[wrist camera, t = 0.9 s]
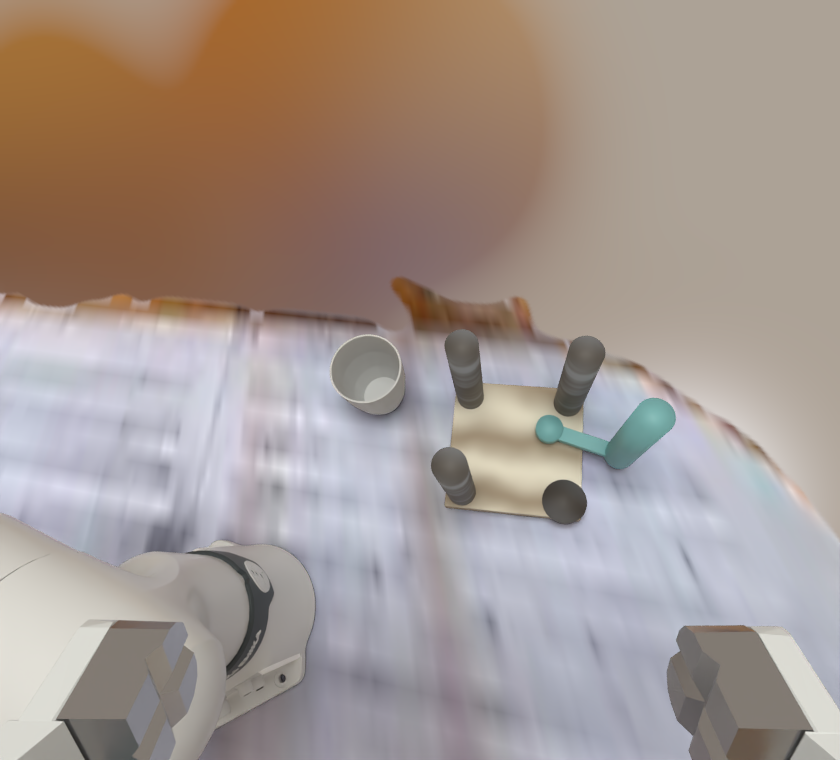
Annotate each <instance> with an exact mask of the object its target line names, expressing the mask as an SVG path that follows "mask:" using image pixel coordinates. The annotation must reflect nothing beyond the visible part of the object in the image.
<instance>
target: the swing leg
mask: <svg viewBox="0 0 840 760" xmlns="http://www.w3.org/2000/svg"><path fill="white" fill-rule="evenodd" d="M675 420H676V416H675V412H674V410H673V408H672V406H671V405H670V404H669V403H667V402H666V401H664V400H662V399H659V398H649V399H646V400H644V401H643V402H641V403H640V404H639V406H638V407H637V408H636V409H635V411H634V412H633V413H632V414H631V416H630V417H629V418H628V419H627V421H626V422H625V423H624V424H623V426H622V427H621V428H620V429H619V431H618V432H617V433H616V434H615V436H614V437H613V438H612V439H611V441H610V442H608V441H605V440H602V439H599V438H596V437H593V436H590V435H587V434H584V433H581V432H578V431H575V430H572V429H569V428H566V427H563V424H562V422H561V420H560V419H559V418H558V417H556V416H554V415H545V416H542V417H541V418H540V419H539V420H538V421H537V424H536V428H535V433H536V436H537V438H538V439H539V440H540V441H541V442H543V443H546V444H552V443H555V442H557V441H559V442H562V443H565V444H568V445H570V446H573V447H576V448H579V449H582V450H585V451H588V452H591V453H594V454H597V455H600V456H603V457H604V458H605V460H606V462H607V463H608V464H609V465H610V466H611V467H613V468H616V469H624V468H627V467H628V466H630V465H631V464H632V463H633V462H634V461H635V460H636V459H638V458H639V457H640V456H641V455H642V454H643V453H644V452H646V451H647V450H648V449H649V448H650V447H651V446H652V445H654V444H655V443H656V442H657V441H658V440H659V439H661V438H662V437H663V436H664V435H665V434H666V433H667V432H669V431H670V430H671V429H672V427H673V426H674V424H675Z"/></svg>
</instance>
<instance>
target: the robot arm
mask: <svg viewBox="0 0 840 760" xmlns="http://www.w3.org/2000/svg"><path fill="white" fill-rule="evenodd" d="M314 616H315V595H314V590H313V586H312V583H311V580H310V577H309V575H308V573H307V571H306V570H305V568H304V567H303V565H302V564H301V563H300V562H299V561H298V560H297V559H296V558H295V557H294V556H293V555H292V554H290V553H289V552H287V551H285V550H284V549H281V548H279V547H276V546H272V545H266V544H257V545H246V546H243V545H238V544H236V543H233V542H230V541H227V540H217V541H215V542H213V543H212V544H211V545H210V546H209V547H206V548H197V549H195V550H193V551H192V552H188V553H172V552H148V553H144V554H140V555H137V556H135V557H133V558H131V559H129V560H127V561H125V562H124V563H122V564H121V565H120V566H118V567H115V566H113V565H111V564H108V563H106V562H103V561H101V560H99V559H97V558H95V557H93V556H91V555H89V554H87V553H84V552H80V551H77V550H75V549H73V548H71V547H69V546H67V545H65V544H64V543H62V542H60V541H58V540H56V539H54V538H52V537H50V536H48V535H46V534H44V533H43V532H41V531H39V530H37V529H35V528H33V527H31V526H29V525H27V524H25V523H23V522H22V521H20V520H18V519H16V518H14V517H12V516H9V515H7V514H3V513H0V760H198V758H199V757H200V755H201V754H202V752H203V751H204V749H205V747H206V746H207V744H208V742H209V740H210V738H211V736H212V734H213V732H214V730H215V729H217V728H219V727H221V726H223V725H224V724H226V723H228V722H230V721H232V720H234V719H235V718H237V717H239V716H241V715H243V714H244V713H246V712H248V711H250V710H252V709H253V708H255V707H257V706H259V705H261V704H263V703H264V702H266V701H268V700H270V699H272V698H273V697H275V696H277V695H279V694H281V693H283V692H284V691H286V690H288V689H290V688H292V687H293V686H295V685H297V684H298V683H300V682H301V681H302V679H303V677H304V674H305V649H306V645H307V641H308V638H309V636H310V633H311V630H312V626H313V622H314ZM676 642H677V644H678V646H679V649H680V652H678V653H677V654H675V655H674V656H673V657H671V658H670V661H669V665H668V669H667V685H668V693H669V697H670V701H671V705H672V708H673V710H674V713H675V716H676V719H677V721H678V722H679V723H680V724H681V725H682V726H683V727H684V728H685V729H686V730H687V731H689V732H690V733H691V734H692V735H693V737H692V740H691V744H690V747H689V753H690V756H691V758H692V760H840V710H839V708H838V707H837V705H836V704H835V702H834V701H833V699H832V698H831V696H830V694H829V693H828V691H827V690H826V688H825V687H824V685H823V684H822V682H821V681H820V679H819V678H818V676H817V674H816V673H815V671H814V670H813V668H812V667H811V665H810V664H809V662H808V661H807V659H806V658H805V656H804V654H803V653H802V651H801V650H800V648H799V647H798V645H797V644H796V642H795V641H794V639H793V638H792V636H791V634H790V633H789V632H788V631H786V630H785V629H784V628H783V627H777V626H752V627H746V626H744V625H734V626H684V627H683V628H681V629H680V630H679V633H678V636H677V639H676ZM282 674H283V675H285V677H286V680H285V682H282V681H281V675H282Z"/></svg>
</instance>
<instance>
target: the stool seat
mask: <svg viewBox="0 0 840 760" xmlns="http://www.w3.org/2000/svg"><path fill="white" fill-rule="evenodd" d="M445 351H446V355H447V359H448V363H449V367H450V371H451V375H452V379H453V383H454V387H455V391H456V399H455V408H454V418H453V428H452V438H451V447H446V448H443V449H441V450H439V451H438V452H437V453H436V454H435V455H434V457H433V459H432V462H431V469H432V472H433V474H434V476H435V477H436V479H437V480H438V482H439V483H440V485H441V486H442V488H443V489H444V491H445V492H446V497H445V507H446V508H454V509H464V510H473V511H483V512H492V513H501V514H511V515H520V516H530V517H539V518H549V519H552V520H554V521H556V522H558V523H562V524H570V523H573V522H576V521H577V522H578V521H580V519H581V517H582V516H583V514H584V513H585V510H586V507H587V500H586V496H585V493H584V491H583V490H582V489H581V480H582V449H579V448H576V447H573V446H570V445H568V444H565V443H562V442H559V441H557V442H555V443H552V444H546V443H543V442H541V441H540V440H539V439H538V438H537V436H536V433H535V428H536V424H537V421H538V420H539V419H540V418H541V417H542V416H545V415H554V416H556V417H558V418H559V419H560V420H561V422H562V424H563V427H566V428H569V429H572V430H575V431H578V432H581V433H583V403H584V401H585V399H586V396H587V394H588V392H589V390H590V388H591V386H592V384H593V381H594V379H595V377H596V375H597V373H598V371H599V369H600V366H601V364H602V362H603V360H604V358H605V348H604V346H603V344H602V343H601V342H600V341H599V340H598V339H596V338H594V337H591V336H582V337H578V338H576V339H575V340H574V341H573V342H572V343H571V345H570V347H569V350H568V354H567V357H566V361H565V364H564V367H563V371H562V374H561V378H560V381H559V385H558V388H546V387H531V386H516V385H501V384H486V383H483V382H482V372H481V363H480V353H479V343H478V339H477V337H476V336H475V335H474V334H473V333H472V332H470V331H468V330H456V331H454V332H452V333H451V334H450V335H449V336H448V337H447V338H446V341H445Z"/></svg>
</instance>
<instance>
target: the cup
mask: <svg viewBox="0 0 840 760" xmlns="http://www.w3.org/2000/svg"><path fill="white" fill-rule="evenodd" d="M330 378H331V382H332V385H333V387H334V388H335V390H336V391H337V392H338V393H339V394H340V395H341V396H342V397H343V398H344V399H346V400H347V401H348V402H349V403H350V404H352V405H353V406H354V407H356V408H358V409H360V410H362V411H365V412H367V413H370V414H374V415H381V414H387V413H390V412H392V411H394V410H395V409H396V408H397V407H398V406H399V404H400V403H401V401H402V399H403V397H404V393H405V373H404V369H403V365H402V362H401V359H400V355H399V353H398V351H397V349H396V348H395V346H394V345H393V344H392V343H391V342H389V341H388V340H387V339H385V338H383V337H380V336H377V335H360V336H357V337H354V338H352V339H350V340H348V341H346V342H345V343H344V344H343V345H341V346H340V347H339V349H338V350H337V351H336V353H335V354H334V356H333V358H332V361H331V365H330Z"/></svg>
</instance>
